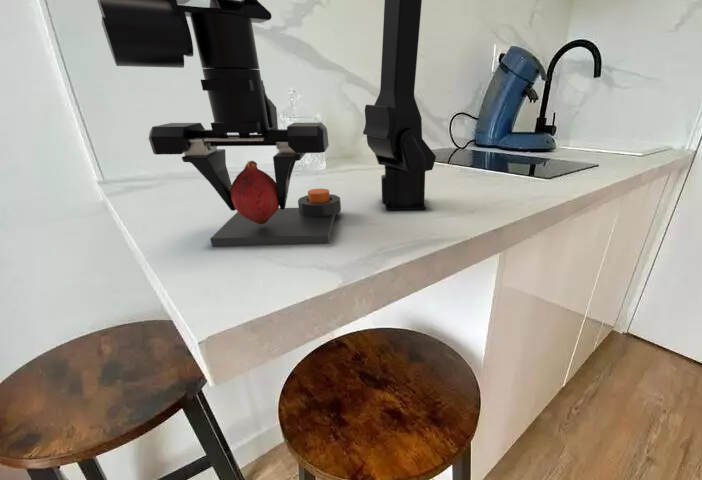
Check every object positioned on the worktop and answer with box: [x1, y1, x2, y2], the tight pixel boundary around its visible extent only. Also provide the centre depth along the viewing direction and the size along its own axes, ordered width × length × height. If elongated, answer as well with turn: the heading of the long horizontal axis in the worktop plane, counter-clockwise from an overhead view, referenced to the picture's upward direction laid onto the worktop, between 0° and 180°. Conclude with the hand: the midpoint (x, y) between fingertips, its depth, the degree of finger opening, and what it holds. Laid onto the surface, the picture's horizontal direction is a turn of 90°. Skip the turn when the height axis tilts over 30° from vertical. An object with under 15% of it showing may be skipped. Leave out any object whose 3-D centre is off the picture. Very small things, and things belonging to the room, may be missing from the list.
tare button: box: [307, 188, 330, 203], centre depth 53 cm, size 3×3×2 cm
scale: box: [209, 193, 342, 248], centre depth 50 cm, size 15×13×3 cm
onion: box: [230, 160, 280, 224], centre depth 46 cm, size 6×6×8 cm
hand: (259, 209), depth 47 cm, fingers closed on onion, 6 cm apart
